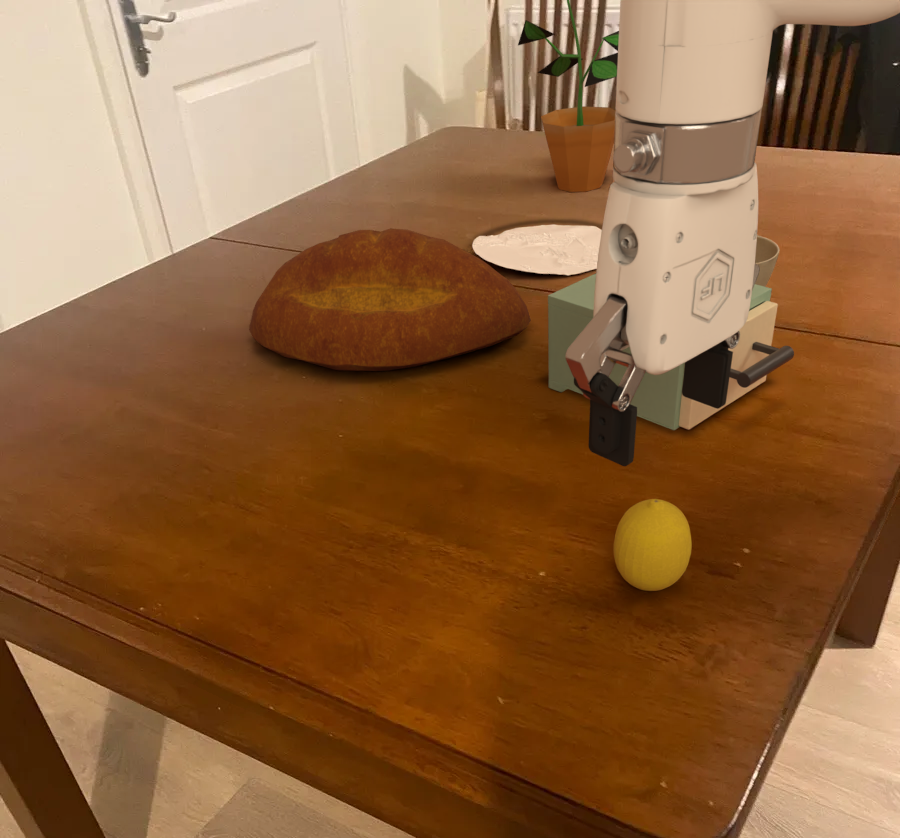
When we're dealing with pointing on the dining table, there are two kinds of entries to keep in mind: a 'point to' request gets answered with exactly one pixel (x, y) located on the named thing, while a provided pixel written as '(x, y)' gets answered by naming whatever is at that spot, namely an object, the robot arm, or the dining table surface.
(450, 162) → the dining table surface
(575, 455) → the dining table surface
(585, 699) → the dining table surface
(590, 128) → the potted plant
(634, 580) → the lemon
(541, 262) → the plaque
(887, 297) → the dining table surface
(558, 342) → the cabinet
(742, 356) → the drawer
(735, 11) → the robot arm
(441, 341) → the bread
